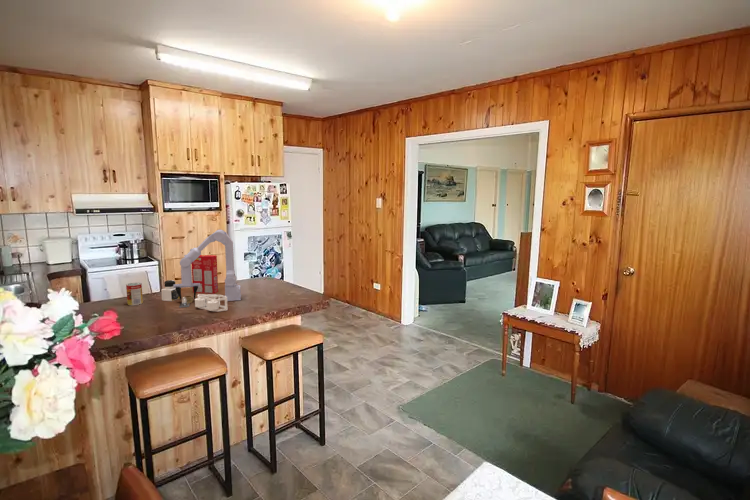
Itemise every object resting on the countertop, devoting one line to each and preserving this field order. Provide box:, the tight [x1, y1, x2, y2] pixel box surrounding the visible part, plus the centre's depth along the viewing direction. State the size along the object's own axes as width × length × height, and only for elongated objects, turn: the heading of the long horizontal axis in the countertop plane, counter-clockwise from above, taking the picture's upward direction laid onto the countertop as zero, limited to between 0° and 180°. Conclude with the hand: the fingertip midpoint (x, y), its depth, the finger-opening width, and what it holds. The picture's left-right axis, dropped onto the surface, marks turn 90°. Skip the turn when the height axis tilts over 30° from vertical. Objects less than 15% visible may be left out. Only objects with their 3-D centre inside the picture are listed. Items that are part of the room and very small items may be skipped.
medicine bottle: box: [161, 279, 180, 302], centre depth 249 cm, size 7×7×12 cm
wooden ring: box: [181, 295, 194, 304], centre depth 245 cm, size 6×6×3 cm
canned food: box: [125, 282, 144, 306], centre depth 239 cm, size 8×8×12 cm
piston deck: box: [178, 296, 191, 309], centre depth 236 cm, size 5×6×5 cm
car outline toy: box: [194, 293, 229, 313], centre depth 231 cm, size 20×11×7 cm, turn 60°
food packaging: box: [191, 254, 219, 295], centre depth 266 cm, size 15×5×25 cm, turn 84°
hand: (187, 298), depth 244 cm, fingers open, 7 cm apart
